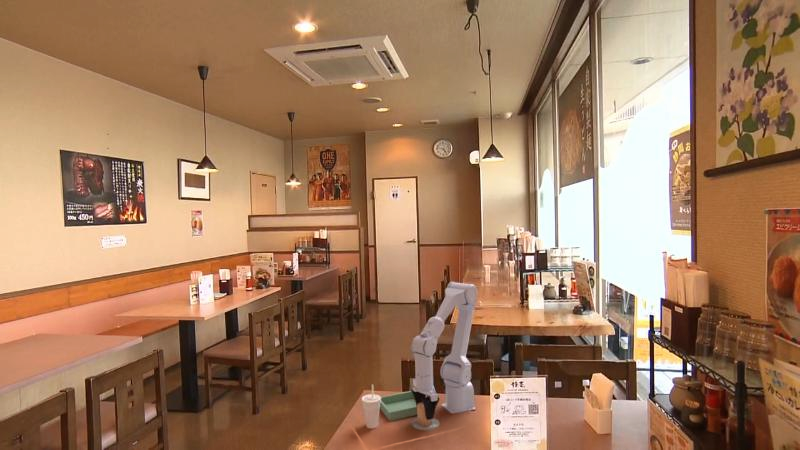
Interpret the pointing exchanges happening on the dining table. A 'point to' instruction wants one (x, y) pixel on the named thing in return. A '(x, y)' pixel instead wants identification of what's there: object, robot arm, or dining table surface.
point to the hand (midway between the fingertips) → (425, 414)
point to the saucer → (434, 425)
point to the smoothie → (371, 409)
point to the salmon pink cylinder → (422, 416)
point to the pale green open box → (398, 405)
